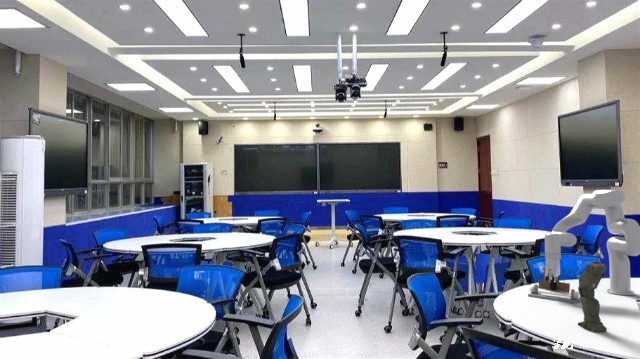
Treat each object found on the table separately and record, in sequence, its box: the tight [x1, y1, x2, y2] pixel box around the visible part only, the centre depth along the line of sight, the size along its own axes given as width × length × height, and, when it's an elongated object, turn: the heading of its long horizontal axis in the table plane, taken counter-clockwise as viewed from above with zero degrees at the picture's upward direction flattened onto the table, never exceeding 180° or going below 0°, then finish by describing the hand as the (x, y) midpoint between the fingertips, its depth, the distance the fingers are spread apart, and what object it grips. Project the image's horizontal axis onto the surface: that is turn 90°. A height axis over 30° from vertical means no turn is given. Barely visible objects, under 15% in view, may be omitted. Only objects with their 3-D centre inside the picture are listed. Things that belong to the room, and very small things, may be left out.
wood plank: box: [537, 279, 571, 294], centre depth 230 cm, size 15×2×5 cm, turn 46°
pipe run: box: [527, 283, 581, 304], centre depth 231 cm, size 12×23×6 cm, turn 45°
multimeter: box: [538, 256, 565, 292], centre depth 251 cm, size 15×10×20 cm
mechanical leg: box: [577, 260, 608, 333], centre depth 178 cm, size 14×7×30 cm, turn 5°
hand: (553, 289), depth 231 cm, fingers closed on wood plank, 1 cm apart
